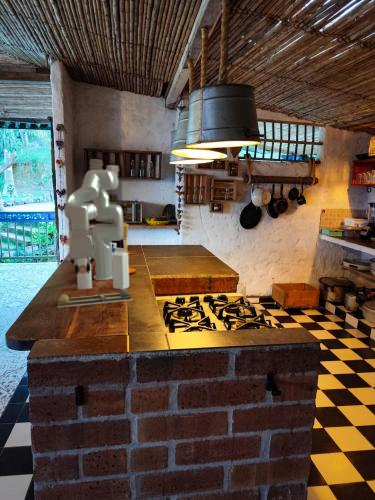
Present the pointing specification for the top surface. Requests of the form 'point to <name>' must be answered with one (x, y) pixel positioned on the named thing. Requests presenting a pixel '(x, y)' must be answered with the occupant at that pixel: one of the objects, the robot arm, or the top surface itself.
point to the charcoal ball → (123, 293)
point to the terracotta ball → (82, 269)
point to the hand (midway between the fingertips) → (82, 272)
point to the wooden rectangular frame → (115, 298)
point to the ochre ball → (64, 299)
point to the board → (94, 299)
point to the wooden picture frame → (81, 301)
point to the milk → (120, 269)
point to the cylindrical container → (84, 276)
